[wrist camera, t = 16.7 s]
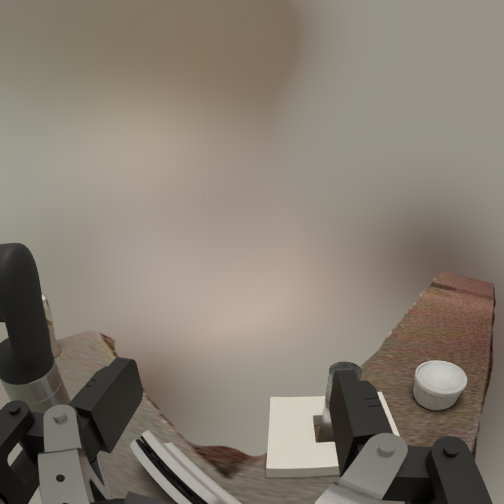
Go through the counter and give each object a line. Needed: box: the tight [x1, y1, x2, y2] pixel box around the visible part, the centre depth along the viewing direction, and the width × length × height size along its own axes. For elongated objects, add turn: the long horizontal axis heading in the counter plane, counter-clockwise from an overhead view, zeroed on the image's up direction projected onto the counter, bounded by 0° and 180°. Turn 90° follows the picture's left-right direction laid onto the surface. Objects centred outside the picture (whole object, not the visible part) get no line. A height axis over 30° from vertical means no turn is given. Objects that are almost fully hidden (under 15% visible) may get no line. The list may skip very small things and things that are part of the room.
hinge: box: [130, 430, 242, 504], centre depth 28 cm, size 17×5×10 cm, turn 45°
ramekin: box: [413, 361, 467, 410], centre depth 43 cm, size 11×11×5 cm
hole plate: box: [266, 392, 400, 478], centre depth 39 cm, size 20×16×3 cm
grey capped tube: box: [318, 362, 362, 443], centre depth 37 cm, size 4×4×14 cm
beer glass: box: [42, 295, 61, 358], centre depth 57 cm, size 7×7×15 cm
